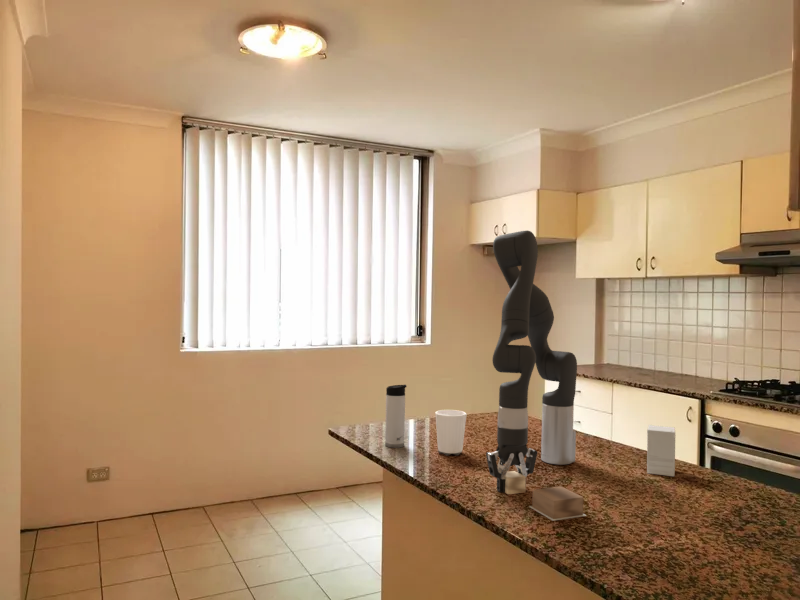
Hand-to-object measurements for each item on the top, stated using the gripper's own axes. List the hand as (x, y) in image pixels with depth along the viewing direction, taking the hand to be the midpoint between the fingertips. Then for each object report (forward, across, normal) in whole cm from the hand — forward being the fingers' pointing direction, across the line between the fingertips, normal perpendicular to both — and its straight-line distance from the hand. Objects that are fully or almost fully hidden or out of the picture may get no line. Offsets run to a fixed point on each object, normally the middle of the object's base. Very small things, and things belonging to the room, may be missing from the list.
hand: (511, 491), depth 152 cm
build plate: (+1, -5, +13) cm, 14 cm away
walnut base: (0, -2, +16) cm, 16 cm away
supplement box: (+1, -52, -3) cm, 52 cm away
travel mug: (+1, +10, -54) cm, 55 cm away
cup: (+1, -3, -40) cm, 40 cm away
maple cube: (+1, 0, 0) cm, 1 cm away
